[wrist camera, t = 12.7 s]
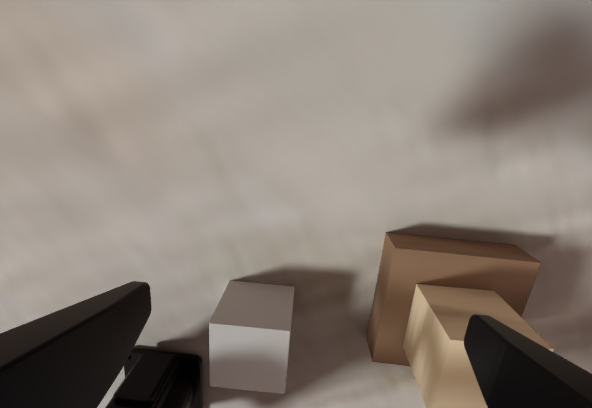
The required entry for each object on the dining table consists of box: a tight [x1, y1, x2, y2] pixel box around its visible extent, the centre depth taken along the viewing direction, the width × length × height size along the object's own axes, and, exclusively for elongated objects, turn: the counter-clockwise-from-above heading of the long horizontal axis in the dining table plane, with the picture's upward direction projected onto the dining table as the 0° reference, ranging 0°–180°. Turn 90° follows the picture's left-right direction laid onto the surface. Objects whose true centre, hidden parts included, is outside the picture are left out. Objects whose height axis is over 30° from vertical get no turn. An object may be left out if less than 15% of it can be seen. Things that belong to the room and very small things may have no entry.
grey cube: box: [209, 281, 295, 394], centre depth 22 cm, size 5×5×5 cm
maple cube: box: [403, 284, 554, 408], centre depth 18 cm, size 5×5×5 cm
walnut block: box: [367, 232, 541, 366], centre depth 22 cm, size 9×9×3 cm
